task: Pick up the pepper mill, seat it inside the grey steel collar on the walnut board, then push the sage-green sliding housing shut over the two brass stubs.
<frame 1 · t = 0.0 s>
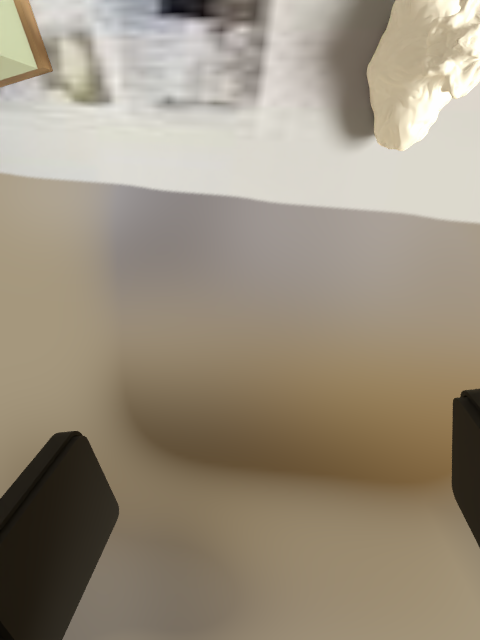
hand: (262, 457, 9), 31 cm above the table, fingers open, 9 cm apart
bust: (406, 75, 31), on the table
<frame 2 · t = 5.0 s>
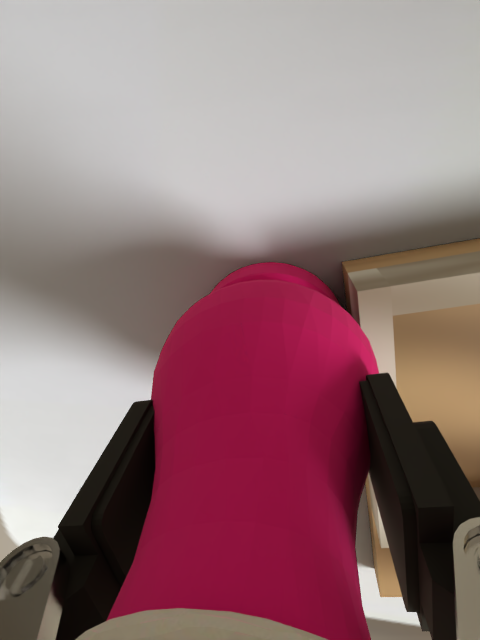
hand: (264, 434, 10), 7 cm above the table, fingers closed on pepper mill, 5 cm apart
pepper mill: (271, 328, 16), on the table, touching gripper, stand
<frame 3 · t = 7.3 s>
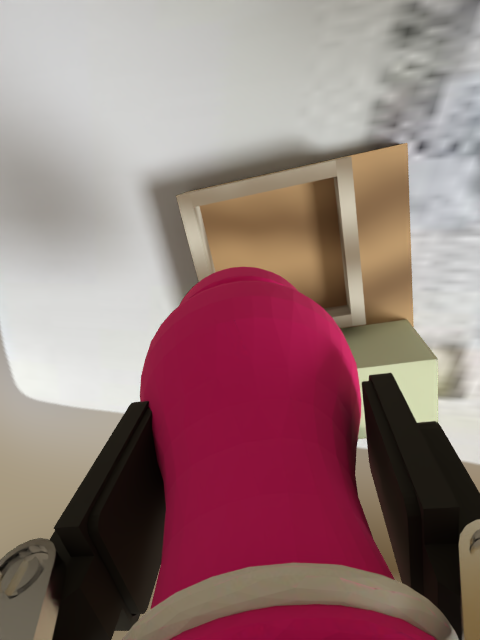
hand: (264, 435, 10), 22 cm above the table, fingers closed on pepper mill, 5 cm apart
housing: (380, 376, 28), point 5 cm above the table, slide at 6.5 cm
stand: (306, 287, 31), on the table
pepper mill: (242, 331, 17), point 15 cm above the table, touching gripper
when the fingers open (9 cm above the table, at t = 10.0 s): pepper mill stays where it is, resting on stand.
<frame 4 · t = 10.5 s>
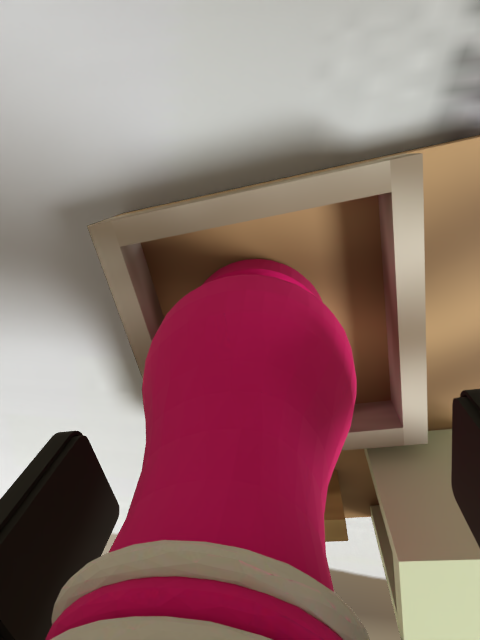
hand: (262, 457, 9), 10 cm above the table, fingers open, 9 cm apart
housing: (451, 531, 16), point 5 cm above the table, slide at 6.5 cm
stand: (322, 365, 19), on the table
pepper mill: (257, 322, 17), point 1 cm above the table, touching stand
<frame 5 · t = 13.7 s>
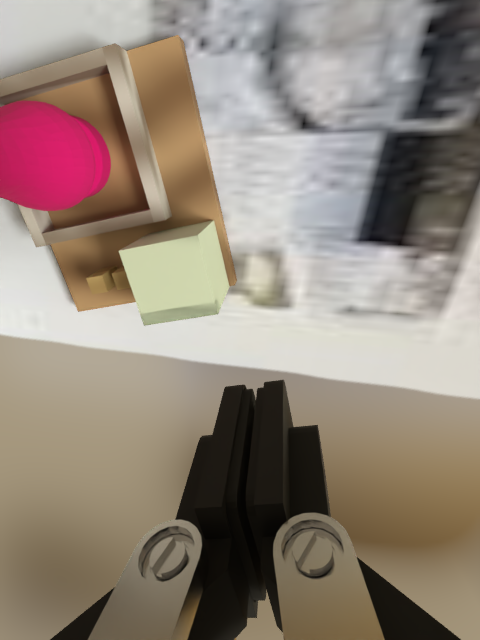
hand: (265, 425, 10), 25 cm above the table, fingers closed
housing: (180, 270, 30), point 5 cm above the table, slide at 6.5 cm
stand: (126, 194, 32), on the table
pepper mill: (76, 158, 30), point 1 cm above the table, touching stand
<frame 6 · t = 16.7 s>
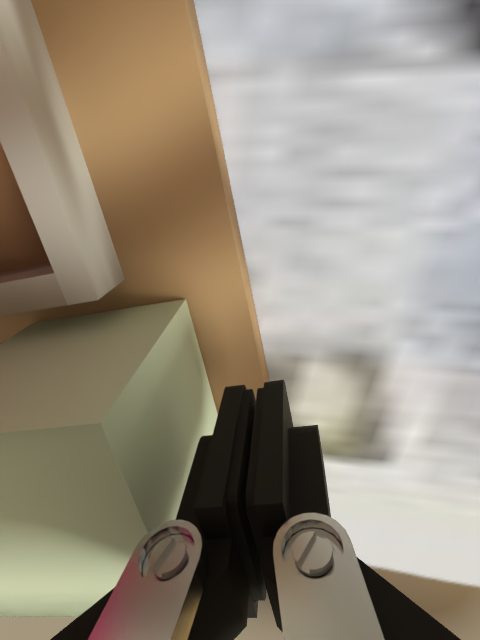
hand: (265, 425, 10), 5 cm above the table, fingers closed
housing: (93, 440, 11), point 5 cm above the table, slide at 5.0 cm, touching gripper
stand: (21, 220, 14), on the table
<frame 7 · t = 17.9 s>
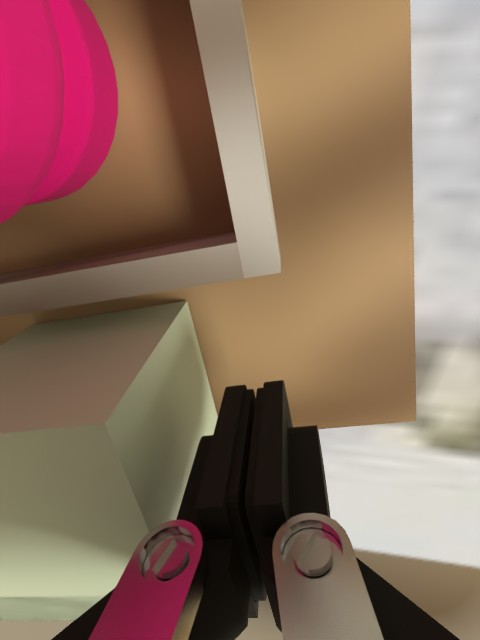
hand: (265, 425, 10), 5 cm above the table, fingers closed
housing: (93, 442, 11), point 5 cm above the table, slide at -0.4 cm, touching gripper
stand: (155, 194, 13), on the table
pepper mill: (19, 89, 11), point 1 cm above the table, touching stand
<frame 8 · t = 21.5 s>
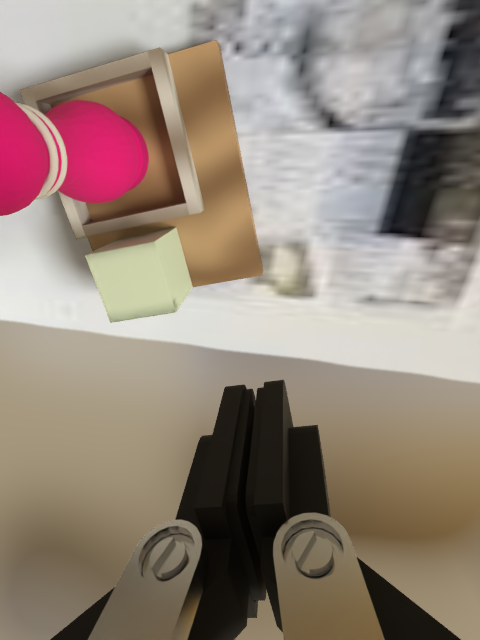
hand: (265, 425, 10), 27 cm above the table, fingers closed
housing: (144, 273, 33), point 5 cm above the table, slide at 0.0 cm
stand: (161, 189, 34), on the table
pepper mill: (115, 154, 32), point 1 cm above the table, touching stand
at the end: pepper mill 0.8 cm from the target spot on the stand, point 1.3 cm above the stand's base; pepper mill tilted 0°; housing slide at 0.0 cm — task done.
